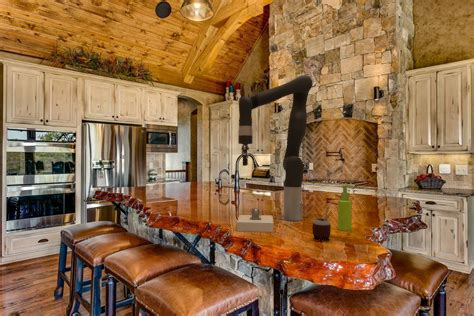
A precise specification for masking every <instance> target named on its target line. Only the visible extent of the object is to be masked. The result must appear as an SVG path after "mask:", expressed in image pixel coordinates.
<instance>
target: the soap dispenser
mask: <svg viewBox="0 0 474 316" xmlns="http://www.w3.org/2000/svg"><path fill="white" fill-rule="evenodd" d="M341 188H342V192H340V199H338V200H337V230H339V231H341V232H351V231H352V227H353V226H352V225H353V224H352V221H353V219H352V218H353V217H352V211H353V201H352V200H350V193H349V192H348V188H350V189H354V188H355V186H352V185H341Z"/></svg>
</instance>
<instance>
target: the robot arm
mask: <svg viewBox="0 0 474 316" xmlns="http://www.w3.org/2000/svg"><path fill="white" fill-rule="evenodd" d="M313 85H314V84H313V79H312V78H311V77H310V76H309V75H307V74H301V75H299V76H297V77H296V78H294V79H292V80H290V81H288V82H285V83H283V84H281V85H278V86H275V87H272V88H269V89H266V90H263V91H260V92H257V93H256V94H255V95H253V96H252V95H251V96H250V97H249V96H246V95H245V96H242V97H241V98H240V99H239V100H238V115H239V116H238V117H239V118H238V132H237V133H238V135H237V139H238V140H237V141H238V144H239V145H242V146H241V157H242V166H243V167H244V166H245V167H246V166H248V165H249V160H248V159H249V155H250V147H249V145H253V131H254V130H253V117H252V113H253V110H255V109H257V108H259V107H262V106H265V105H268V104H271V103H274V102H277V101H279V100H280V99H283V98H286V97H287V96H290V95H292V105H291V108H290V114H289V119H288V124H287V125H288V127H287V134H286V135H287V137H286V147H285V152H284V156H283V161H282V167H283V170H284V171H285V176H284V177H285V179H284V181H283V220H285V221H290V222H298V221H299V222H300V221H303V201H302V196H303V194H302V193H303V192H302V190H303V189H302V187H303V181H304V162H303V160H302V158H300V151H301V150H300V149H301V146H302V142H303V140H304V138H305V135H306V130H307V123H308V114H307V102H308V97H309V93H310V91H311V90H312V88H313Z"/></svg>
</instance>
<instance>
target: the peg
mask: <svg viewBox="0 0 474 316" xmlns="http://www.w3.org/2000/svg"><path fill="white" fill-rule="evenodd" d="M251 215H252V220H259V215H260V209H259V208H251Z"/></svg>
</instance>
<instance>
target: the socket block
mask: <svg viewBox="0 0 474 316" xmlns="http://www.w3.org/2000/svg"><path fill="white" fill-rule="evenodd" d="M273 218H274V217H273V215H263V214H262V215H260V214H259V220H252V214H239V216H238V218H237V221H236V232H250V233H251V232H254V233H256V232H257V233H258V232H260V233H274V219H273Z"/></svg>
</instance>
